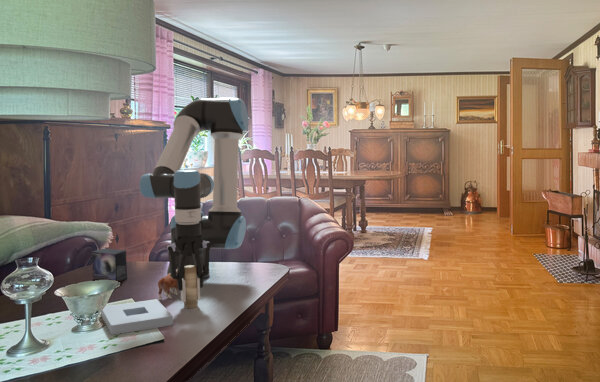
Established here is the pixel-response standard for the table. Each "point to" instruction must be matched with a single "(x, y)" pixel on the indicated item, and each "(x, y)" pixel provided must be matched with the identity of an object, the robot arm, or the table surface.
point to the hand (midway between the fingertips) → (190, 299)
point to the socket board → (136, 316)
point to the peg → (190, 286)
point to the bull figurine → (167, 286)
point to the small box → (109, 264)
